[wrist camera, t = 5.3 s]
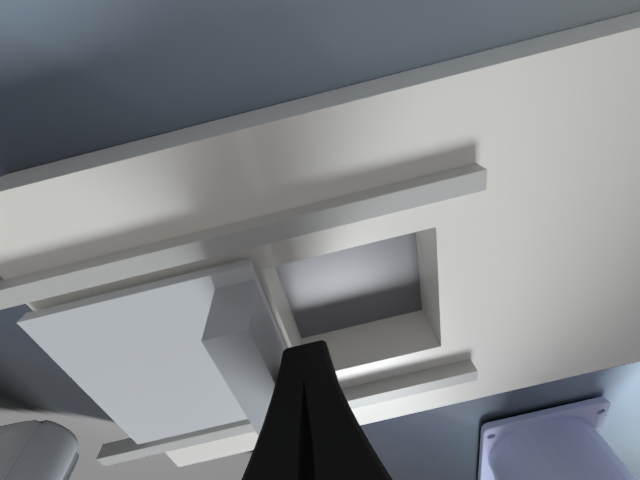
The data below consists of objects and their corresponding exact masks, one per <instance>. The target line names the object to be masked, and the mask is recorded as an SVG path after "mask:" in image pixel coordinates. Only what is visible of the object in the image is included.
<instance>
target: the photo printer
mask: <svg viewBox="0 0 640 480" xmlns="http://www.w3.org/2000/svg"><path fill="white" fill-rule="evenodd" d="M77 447H78V441H77V439H76V437H75V435H74V434H73V433H72V432H71V431H70V430H68V429H67V428H65V427H63V426H62V425H59V424H57V423H55V422H52V421H47V420H45V421H41V422H39V421H36V420H33V421H25V422H19V423H14V424H9V425H5V426H0V480H70V478H71V476H72V473H73V471H74V469H75V467H76V464H77V461H78V458H79V455H78V453H77V452H76V450H77Z"/></svg>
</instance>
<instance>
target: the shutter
mask: <svg viewBox="0 0 640 480" xmlns="http://www.w3.org/2000/svg"><path fill="white" fill-rule="evenodd" d="M17 324H18V325H19V326H20V327H21V328H22V329H23V330H24V331H25V332H26V333H27V334H28V335H29V336H30V337H31V338H32V339H33V340H34V341H35V342H36V343H37V344H38V345H39V346H40V347H41V348H42V349H43V350H44V351H45V352H46V353H47V354H48V355H49V356H50V357H51V358H52V359H53V360H54V361H55V362H56V363H57V364H58V365H59V366H60V367H61V368H62V369H63V370H64V371H65V372H66V373H67V374H68V375H69V376H70V377H71V378H72V379H73V380H74V381H75V382H76V383H77V384H78V385H79V386H80V387H81V388H82V389H83V390H84V391H85V392H86V393H87V394H88V395H89V396H90V397H91V398H92V399H93V400H94V401H95V402H96V403H97V404H98V405H99V406H100V407H101V408H102V409H103V410H104V411H105V412H106V413H107V414H108V415H109V416H110V417H111V418H112V419H113V420H114V421H115V422H116V423H117V424H118V425H119V426H120V427H121V428H122V429H123V430H124V431H125V432H126V433H127V434H128V435H129V436H130V437H131V438H132V439H133V440H134V441H135V442H136V443H137V444H142V443H146V442H151V441H155V440H159V439H164V438H168V437H172V436H177V435H181V434H185V433H189V432H194V431H198V430H202V429H207V428H211V427H215V426H220V425H224V424H228V423H233V422H237V421H241V420H245V419H248V420H249V421H250V423H251V425H252V426H253V428H254V430H255V431H256V433H257V435H258V436H259V434H260V431H261V429H262V426H263V423H264V420H265V417H266V413H267V410H268V407H269V404H270V401H271V398H272V394H273V391H274V387H275V384H276V380H277V376H278V372H279V368H280V364H281V360H282V354H283V351H284V350H285V349H286V345H285V343H284V340H283V338H282V335H281V333H280V330H279V328H278V326H277V323H276V321H275V318H274V316H273V313H272V311H271V309H270V306H269V304H268V301H267V299H266V296H265V294H264V291H263V289H262V287H261V284H260V282H259V279H258V277H257V274H256V272H255V269H254V267H253V265H252V262H251V260H250V258H248V259H244V260H240V261H236V262H232V263H228V264H224V265H220V266H216V267H212V268H208V269H204V270H199V271H195V272H191V273H187V274H183V275H179V276H175V277H171V278H167V279H163V280H159V281H155V282H151V283H147V284H142V285H138V286H134V287H130V288H126V289H122V290H118V291H114V292H110V293H106V294H102V295H98V296H94V297H90V298H85V299H81V300H77V301H73V302H69V303H65V304H61V305H57V306H53V307H49V308H45V309H41V310H37V311H33V312H28V313H25V314H24V316H23V317H22V318H21V319H20V320H19V321H18V322H17Z"/></svg>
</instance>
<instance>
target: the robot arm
mask: <svg viewBox="0 0 640 480" xmlns="http://www.w3.org/2000/svg"><path fill="white" fill-rule="evenodd" d="M609 407H610V402H609V401H608V400H607V399H606V398H605V397H597V398H593V399H588V400H584V401H580V402H575V403H571V404H566V405H562V406H558V407H553V408H549V409H544V410H540V411H536V412H531V413H527V414H522V415H518V416H514V417H509V418H505V419H500V420H496V421H492V422H488V423H485V424H484V425H483V426H482V427H481V438H480V453H479V469H478V480H637V479H636V478H635V477H634V476H633V475H632V473H631V472H630V471H629V470H628V468H627V467H626V466H625V465H624V463H623V462H622V461H621V460H620V459H619V457H618V456H617V455H616V454H615V452H614V451H613V450H612V449H611V447H610V446H609V445H608V444H607V443H606V441H605V440H604V439H603V438H602V436H601V435H600V434H599V431H600V429H601V426H602V424H603V421H604V419H605V417H606V414H607V412H608V409H609ZM242 480H392V478H391V477H390V475H389V474H388V472H387V470H386V469H385V467H384V466H383V464H382V462H381V461H380V459H379V458H378V456H377V454H376V453H375V451H374V449H373V448H372V446H371V444H370V443H369V441H368V439H367V437H366V436H365V434H364V432H363V430H362V428H361V427H360V425H359V423H358V421H357V419H356V418H355V416H354V414H353V412H352V410H351V408H350V406H349V404H348V402H347V400H346V398H345V395H344V393H343V391H342V389H341V387H340V385H339V382H338V379H337V375H336V372H335V369H334V366H333V362H332V359H331V356H330V353H329V350H328V346H327V343H326V342H325V341H323V340H319V341H315V342H311V343H307V344H303V345H298V346H294V347H290V348H286V349H285V350H284V351H283V354H282V360H281V364H280V368H279V372H278V376H277V380H276V384H275V387H274V391H273V394H272V398H271V401H270V404H269V407H268V410H267V413H266V417H265V420H264V423H263V426H262V429H261V431H260V434H259V437H258V439H257V442H256V445H255V447H254V450H253V453H252V455H251V458H250V461H249V464H248V466H247V468H246V470H245V473H244V475H243V478H242Z"/></svg>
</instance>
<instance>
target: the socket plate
mask: <svg viewBox="0 0 640 480" xmlns="http://www.w3.org/2000/svg"><path fill="white" fill-rule="evenodd" d="M248 258H250V260H251V262H252V265H253V267H254V269H255V272H256V274H257V277H258V279H259V282H260V284H261V287H262V289H263V291H264V294H265V296H266V299H267V301H268V304H269V306H270V309H271V311H272V313H273V316H274V318H275V321H276V323H277V326H278V328H279V330H280V333H281V335H282V338H283V340H284V343H285V345H286V348H290V347H294V346H298V345H303V344H307V343H311V342H315V341H319V340H323V341H325V342H326V343H327V346H328V350H329V353H330V356H331V359H332V362H333V366H334V369H335V372H336V375H337V379H338V382H339V385H340V387H341V389H342V391H343V393H344V395H345V398H346V400H347V402H348V404H349V406H350V408H351V410H352V412H353V414H354V416H355V418H356V419H357V421H358V423H359V425H364V424H368V423H373V422H377V421H381V420H386V419H390V418H394V417H399V416H403V415H408V414H412V413H416V412H421V411H425V410H429V409H434V408H438V407H442V406H447V405H451V404H455V403H460V402H464V401H469V400H473V399H477V398H482V397H486V396H490V395H495V394H499V393H503V392H508V391H512V390H516V389H521V388H525V387H530V386H534V385H538V384H543V383H547V382H551V381H556V380H560V379H564V378H569V377H573V376H577V375H582V374H586V373H591V372H595V371H599V370H604V369H608V368H612V367H617V366H621V365H625V364H630V363H634V362H638V361H640V11H637V12H633V13H629V14H626V15H622V16H618V17H614V18H610V19H606V20H602V21H598V22H595V23H591V24H587V25H583V26H579V27H575V28H571V29H567V30H564V31H560V32H556V33H552V34H548V35H544V36H540V37H536V38H533V39H529V40H525V41H521V42H517V43H513V44H509V45H505V46H502V47H498V48H494V49H490V50H486V51H482V52H478V53H474V54H471V55H467V56H463V57H459V58H455V59H451V60H447V61H443V62H440V63H436V64H432V65H428V66H424V67H420V68H416V69H412V70H409V71H405V72H401V73H397V74H393V75H389V76H385V77H381V78H377V79H374V80H370V81H366V82H362V83H358V84H354V85H350V86H346V87H343V88H339V89H335V90H331V91H327V92H323V93H319V94H315V95H312V96H308V97H304V98H300V99H296V100H292V101H288V102H284V103H281V104H277V105H273V106H269V107H265V108H261V109H257V110H253V111H250V112H246V113H242V114H238V115H234V116H230V117H226V118H222V119H219V120H215V121H211V122H207V123H203V124H199V125H195V126H191V127H188V128H184V129H180V130H176V131H172V132H168V133H164V134H160V135H156V136H153V137H149V138H145V139H141V140H137V141H133V142H129V143H125V144H122V145H118V146H114V147H110V148H106V149H102V150H98V151H94V152H91V153H87V154H83V155H79V156H75V157H71V158H67V159H63V160H60V161H56V162H52V163H48V164H44V165H40V166H36V167H32V168H29V169H25V170H21V171H17V172H13V173H9V174H6V175H4V176H2V177H0V276H1V277H2V278H3V279H4V280H2V281H0V310H1V309H5V308H9V307H13V306H17V305H21V304H25V303H26V304H27V305H28V306H29V307H30V308H31V309H32V310H33V311H37V310H41V309H45V308H49V307H53V306H57V305H61V304H65V303H69V302H73V301H77V300H81V299H85V298H90V297H94V296H98V295H102V294H106V293H110V292H114V291H118V290H122V289H126V288H130V287H134V286H138V285H142V284H147V283H151V282H155V281H159V280H163V279H167V278H171V277H175V276H179V275H183V274H187V273H191V272H195V271H199V270H204V269H208V268H212V267H216V266H220V265H224V264H228V263H232V262H236V261H240V260H244V259H248ZM258 437H259V436H258V435H257V433H256V431H255V430H254V428H253V426H252V425H251V423H250V421H249V420H248V419H245V420H241V421H237V422H233V423H228V424H224V425H220V426H215V427H211V428H207V429H202V430H198V431H194V432H189V433H185V434H181V435H177V436H172V437H168V438H164V439H159V440H155V441H151V442H146V443H142V444H137V443H136V442H135V441H134V440H133V439H132V438H128V439H124V440H120V441H115V442H111V443H107V444H103V445H102V448H101V450H100V452H99V454H98V457H97V460H98V461H99V462H100V463H101V464H102V465H104V466H108V465H111V464H116V463H120V462H124V461H129V460H134V459H138V458H142V457H147V456H151V455H155V454H159V453H163V452H165V453H166V454H167V455H168V456H169V457H170V458H171V460H172V461H174V463H175V464H176V465H177V466H178V467H181V466H185V465H189V464H194V463H198V462H203V461H207V460H211V459H216V458H220V457H225V456H229V455H233V454H238V453H242V452H246V451H251V450H254V447H255V445H256V442H257V439H258Z"/></svg>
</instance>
